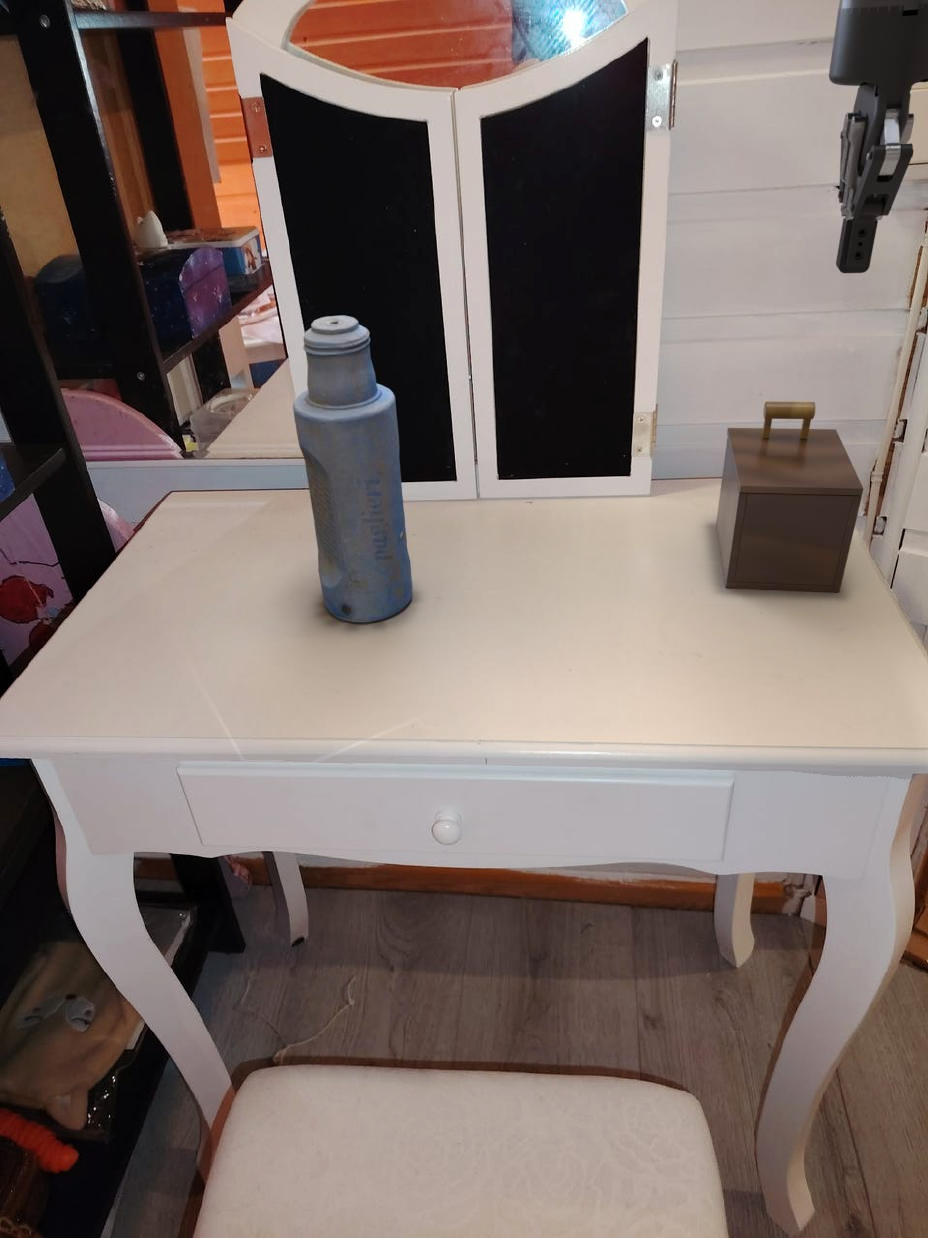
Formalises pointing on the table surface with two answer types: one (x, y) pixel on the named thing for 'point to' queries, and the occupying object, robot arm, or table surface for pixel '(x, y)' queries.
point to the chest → (783, 537)
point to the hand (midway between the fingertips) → (851, 270)
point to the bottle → (353, 474)
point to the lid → (791, 456)
